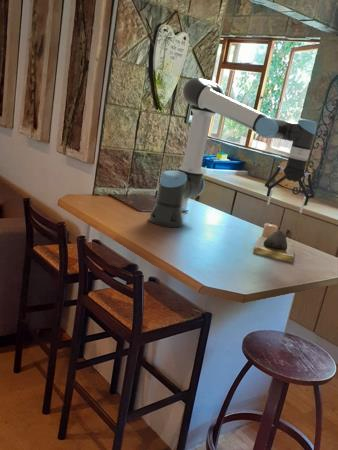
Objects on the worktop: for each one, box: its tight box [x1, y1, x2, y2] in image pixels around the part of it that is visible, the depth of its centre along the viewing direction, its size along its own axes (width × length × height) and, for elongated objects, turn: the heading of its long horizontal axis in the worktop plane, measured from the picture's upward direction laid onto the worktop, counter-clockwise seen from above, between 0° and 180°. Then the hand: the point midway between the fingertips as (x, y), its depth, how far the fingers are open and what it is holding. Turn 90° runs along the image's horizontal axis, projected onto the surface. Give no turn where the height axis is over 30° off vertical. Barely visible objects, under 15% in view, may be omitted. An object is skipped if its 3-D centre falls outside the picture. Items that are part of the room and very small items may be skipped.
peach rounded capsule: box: [261, 222, 279, 238], centre depth 205 cm, size 6×6×7 cm
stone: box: [264, 230, 288, 250], centre depth 187 cm, size 10×8×10 cm
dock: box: [252, 235, 295, 263], centre depth 189 cm, size 16×18×3 cm
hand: (284, 208), depth 184 cm, fingers open, 13 cm apart
